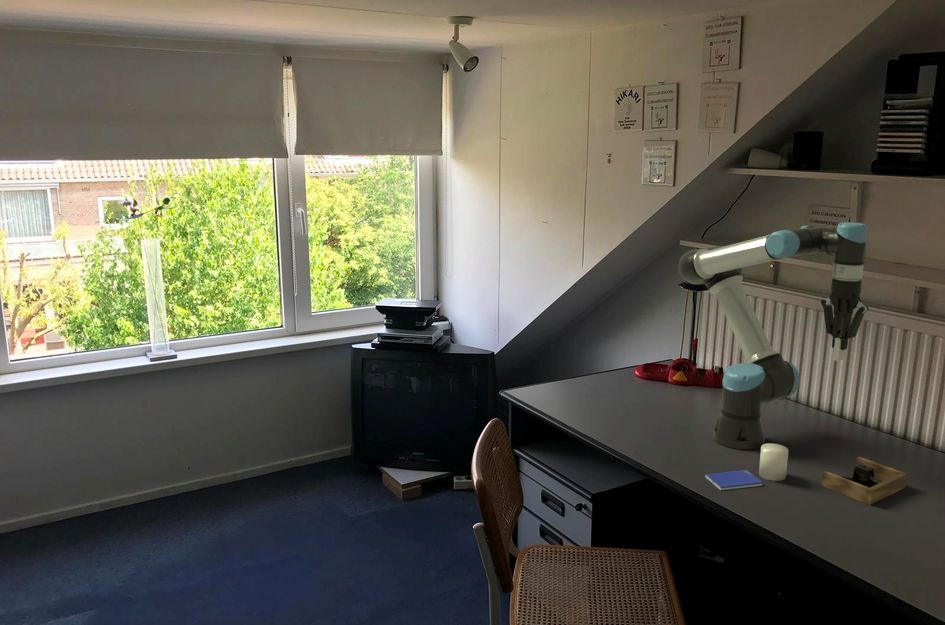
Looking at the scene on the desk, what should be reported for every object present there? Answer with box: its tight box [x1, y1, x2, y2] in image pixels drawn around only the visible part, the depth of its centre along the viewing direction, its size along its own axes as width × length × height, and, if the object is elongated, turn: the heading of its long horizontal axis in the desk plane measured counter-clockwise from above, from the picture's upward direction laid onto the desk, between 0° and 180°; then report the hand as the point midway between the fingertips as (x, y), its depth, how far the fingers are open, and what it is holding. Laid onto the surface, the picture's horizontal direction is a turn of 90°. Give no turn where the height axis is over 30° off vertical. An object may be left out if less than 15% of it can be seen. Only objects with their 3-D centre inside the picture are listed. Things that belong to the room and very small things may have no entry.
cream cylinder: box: [758, 443, 789, 482], centre depth 208 cm, size 7×7×8 cm
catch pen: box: [821, 456, 908, 506], centre depth 201 cm, size 13×17×4 cm
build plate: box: [840, 464, 880, 488], centre depth 204 cm, size 12×7×5 cm, turn 32°
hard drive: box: [704, 469, 763, 491], centre depth 205 cm, size 2×8×12 cm
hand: (838, 359), depth 214 cm, fingers closed
